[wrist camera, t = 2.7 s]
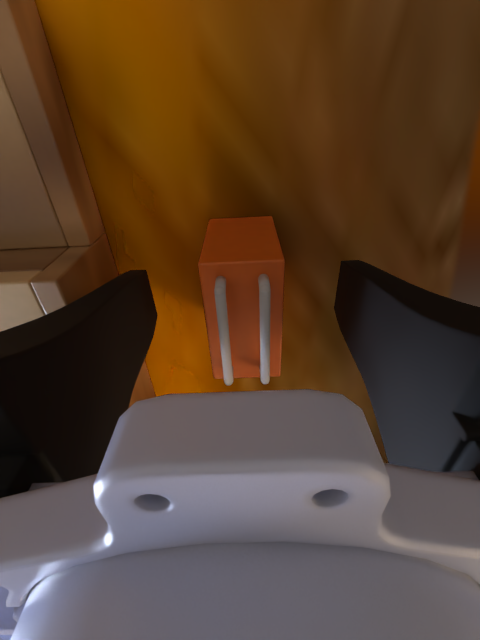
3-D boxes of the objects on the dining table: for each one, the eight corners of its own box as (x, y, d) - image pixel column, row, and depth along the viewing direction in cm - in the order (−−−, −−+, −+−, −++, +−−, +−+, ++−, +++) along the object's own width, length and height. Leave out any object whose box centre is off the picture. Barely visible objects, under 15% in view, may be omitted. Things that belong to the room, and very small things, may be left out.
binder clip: (208, 218, 12) (194, 276, 8) (272, 215, 12) (289, 271, 8) (219, 316, 14) (211, 395, 10) (271, 314, 14) (283, 393, 10)
